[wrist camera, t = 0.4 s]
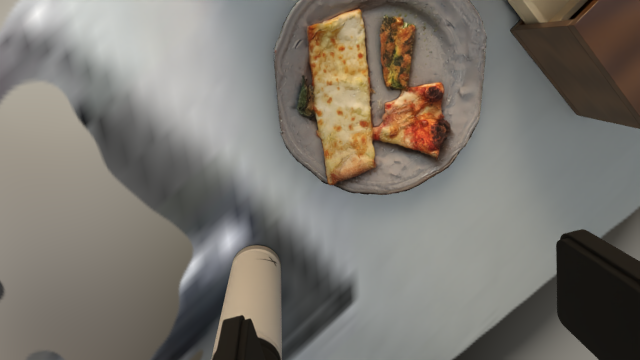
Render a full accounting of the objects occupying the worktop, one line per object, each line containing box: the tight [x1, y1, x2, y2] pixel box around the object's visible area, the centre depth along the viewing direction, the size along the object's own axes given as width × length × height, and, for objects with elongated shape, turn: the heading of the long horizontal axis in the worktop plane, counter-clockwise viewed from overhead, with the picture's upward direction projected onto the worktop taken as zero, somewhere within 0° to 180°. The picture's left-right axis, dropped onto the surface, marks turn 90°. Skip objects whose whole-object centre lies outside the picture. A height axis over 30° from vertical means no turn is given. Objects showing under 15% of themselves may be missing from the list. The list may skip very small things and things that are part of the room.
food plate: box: [274, 0, 487, 195], centre depth 43 cm, size 25×23×4 cm
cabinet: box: [510, 0, 640, 129], centre depth 40 cm, size 14×17×10 cm
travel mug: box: [211, 245, 282, 360], centre depth 41 cm, size 6×7×20 cm
